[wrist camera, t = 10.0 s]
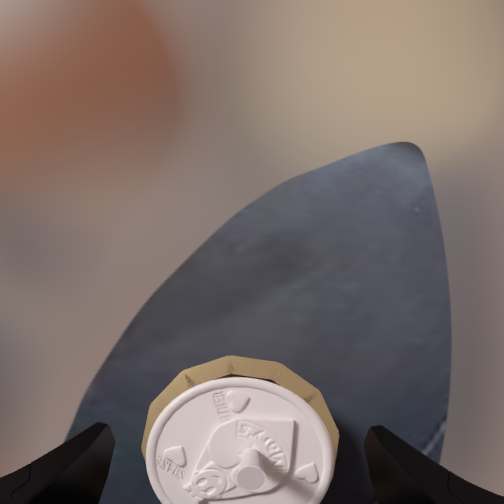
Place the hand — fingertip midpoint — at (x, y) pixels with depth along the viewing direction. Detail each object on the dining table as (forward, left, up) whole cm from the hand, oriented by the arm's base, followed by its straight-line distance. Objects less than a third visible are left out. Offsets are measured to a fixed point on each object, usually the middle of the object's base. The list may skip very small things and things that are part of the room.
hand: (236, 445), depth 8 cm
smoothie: (-1, 0, -10) cm, 10 cm away
